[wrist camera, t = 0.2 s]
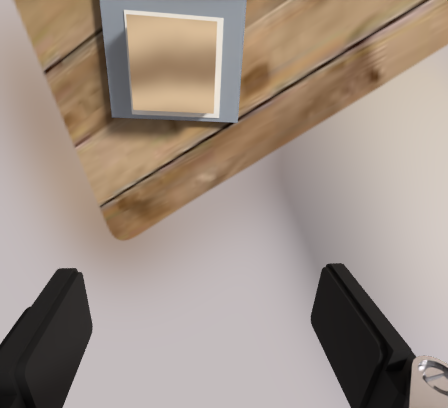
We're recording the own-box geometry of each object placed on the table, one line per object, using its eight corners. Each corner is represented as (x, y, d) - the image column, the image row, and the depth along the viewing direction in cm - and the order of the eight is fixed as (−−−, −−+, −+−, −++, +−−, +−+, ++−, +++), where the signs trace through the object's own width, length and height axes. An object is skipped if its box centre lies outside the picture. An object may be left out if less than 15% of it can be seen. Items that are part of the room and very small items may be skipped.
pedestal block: (133, 21, 31) (126, 13, 28) (214, 27, 32) (217, 21, 29) (139, 106, 35) (133, 109, 31) (211, 109, 36) (213, 113, 32)
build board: (99, -40, 30) (94, -46, 28) (246, -25, 32) (248, -30, 30) (115, 115, 37) (111, 117, 35) (236, 121, 38) (237, 122, 37)
